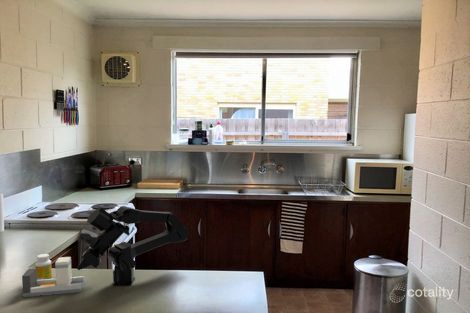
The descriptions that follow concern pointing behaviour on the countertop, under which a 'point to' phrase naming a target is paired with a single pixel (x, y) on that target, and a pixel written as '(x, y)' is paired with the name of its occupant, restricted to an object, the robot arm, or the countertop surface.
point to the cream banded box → (63, 271)
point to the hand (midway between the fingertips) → (77, 269)
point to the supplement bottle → (43, 267)
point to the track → (48, 285)
